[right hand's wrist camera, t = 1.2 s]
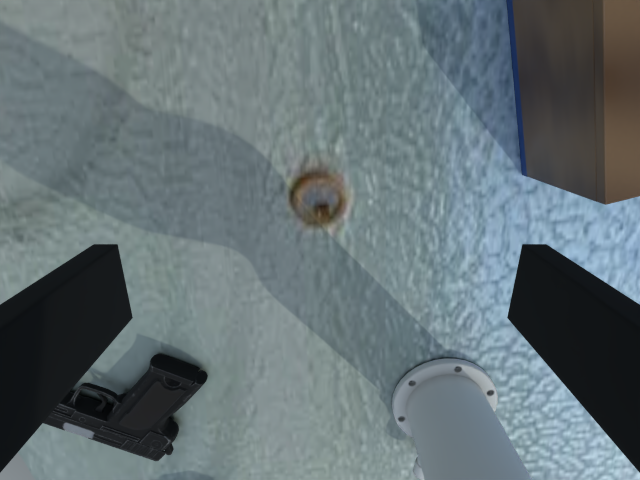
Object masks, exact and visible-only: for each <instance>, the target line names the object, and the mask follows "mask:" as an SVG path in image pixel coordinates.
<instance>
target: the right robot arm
mask: <svg viewBox="0 0 640 480" xmlns="http://www.w3.org/2000/svg"><path fill="white" fill-rule="evenodd" d="M132 318H133V317H132V313H131V308H130V303H129V298H128V293H127V288H126V283H125V279H124V274H123V269H122V264H121V259H120V254H119V250H118V245H117V244H94V245H92V246H91V247H89V248H88V249H86V250H84V251H83V252H81V253H80V254H78V255H77V256H75V257H74V258H72V259H70V260H69V261H67V262H66V263H64V264H63V265H61V266H60V267H58V268H57V269H55V270H53V271H52V272H50V273H49V274H47V275H46V276H44V277H43V278H41V279H39V280H38V281H36V282H35V283H33V284H32V285H30V286H29V287H27V288H26V289H24V290H22V291H21V292H19V293H18V294H16V295H15V296H13V297H12V298H10V299H8V300H7V301H5V302H4V303H2V304H1V305H0V472H1V471H2V470H3V469H4V468H5V466H6V465H7V464H8V463H9V462H10V461H11V459H12V458H13V457H14V456H15V455H16V454H17V452H18V451H19V450H20V449H21V448H22V447H23V445H24V444H25V443H26V442H27V441H28V439H29V438H30V437H31V436H32V435H33V434H34V432H35V431H36V430H37V429H38V428H39V427H40V425H41V424H42V423H43V422H44V421H45V420H46V418H47V417H48V416H49V415H50V414H51V413H52V411H53V410H54V409H55V408H56V407H57V406H58V404H59V403H60V402H61V401H62V400H63V399H64V397H65V396H66V395H67V394H68V393H69V392H70V390H71V389H72V388H73V387H74V386H75V385H76V383H77V382H78V381H79V380H80V379H81V377H82V376H83V375H84V374H85V373H86V372H87V370H88V369H89V368H90V367H91V366H92V365H93V363H94V362H95V361H96V360H97V359H98V358H99V356H100V355H101V354H102V353H103V352H104V351H105V349H106V348H107V347H108V346H109V345H110V344H111V342H112V341H113V340H114V339H115V338H116V337H117V335H118V334H119V333H120V332H121V331H122V330H123V328H124V327H125V326H126V325H127V324H128V323H129V321H130V320H131V319H132ZM507 318H508V319H509V320H510V321H511V323H512V324H513V325H514V326H515V327H516V328H517V330H518V331H519V332H520V333H521V334H522V335H523V337H524V338H525V339H526V340H527V341H528V342H529V344H530V345H531V346H532V347H533V348H534V349H535V351H536V352H537V353H538V354H539V355H540V356H541V358H542V359H543V360H544V361H545V362H546V363H547V365H548V366H549V367H550V368H551V369H552V370H553V372H554V373H555V374H556V375H557V376H558V377H559V379H560V380H561V381H562V382H563V383H564V385H565V386H566V387H567V388H568V389H569V390H570V392H571V393H572V394H573V395H574V396H575V397H576V399H577V400H578V401H579V402H580V403H581V404H582V406H583V407H584V408H585V409H586V410H587V411H588V413H589V414H590V415H591V416H592V417H593V418H594V420H595V421H596V422H597V423H598V424H599V425H600V427H601V428H602V429H603V430H604V431H605V432H606V434H607V435H608V436H609V437H610V438H611V439H612V441H613V442H614V443H615V444H616V445H617V447H618V448H619V449H620V450H621V451H622V452H623V454H624V455H625V456H626V457H627V458H628V459H629V461H630V462H631V463H632V464H633V465H634V466H635V468H636V469H637V470H638V471H639V472H640V305H639V304H638V303H636V302H635V301H633V300H632V299H630V298H628V297H627V296H625V295H624V294H622V293H621V292H619V291H618V290H616V289H614V288H613V287H611V286H610V285H608V284H607V283H605V282H604V281H602V280H601V279H599V278H597V277H596V276H594V275H593V274H591V273H590V272H588V271H587V270H585V269H583V268H582V267H580V266H579V265H577V264H576V263H574V262H573V261H571V260H570V259H568V258H566V257H565V256H563V255H562V254H560V253H559V252H557V251H556V250H554V249H552V248H551V247H549V246H548V245H546V244H523V245H522V250H521V254H520V259H519V264H518V269H517V274H516V279H515V283H514V288H513V293H512V298H511V303H510V308H509V313H508V317H507Z"/></svg>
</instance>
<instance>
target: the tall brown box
mask: <svg viewBox="0 0 640 480" xmlns="http://www.w3.org/2000/svg"><path fill="white" fill-rule="evenodd" d="M507 9H508V21H509V32H510V43H511V55H512V66H513V77H514V89H515V100H516V111H517V122H518V134H519V145H520V156H521V168H522V175H524V176H527V177H530V178H533V179H536V180H539V181H541V182H544V183H547V184H550V185H552V186H555V187H558V188H560V189H563V190H566V191H569V192H571V193H574V194H577V195H580V196H582V197H585V198H588V199H591V200H593V201H596V202H599V203H602V204H605V205H606V204H610V203H614V202H618V201H622V200H626V199H630V198H634V197H638V196H640V0H507Z"/></svg>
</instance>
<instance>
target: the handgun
mask: <svg viewBox="0 0 640 480" xmlns="http://www.w3.org/2000/svg"><path fill="white" fill-rule="evenodd" d="M199 369H200V368H197V367H195V366H192V365H189V364H187V363H184V362H181V361H179V360H176V359H174V358H171V357H168V356H166V355H163V354H157V355H154V356H153V358H152V359H151V361H150V367H149V370H148V371H147V372H146V374H145V375H144V376H143V377H142V378H141V379H140V380H139V381H138V382H137V383H136V385H135V386H134V387H133V388H132V389H131V390H130V391H129V392H128V393H123V394H120V395H117V394H116V393H114V392H112V391H110V390H108V389H106V388H103V387H100V386H97V385H94V384H91V383H83V384H82V385H81V386H80V387H79V388H78V389H77V391H76V392H75V393H72V392H69V393H68V394H67V395H66V396H65V397H64V399H63V400H62V401H61V402H60V403H59V404H58V406H57V407H56V408H55V409H54V410H53V411H52V413H51V414H50V415H49V416H48V417H47V418H46V420H45V421H44V422H43V423H44V424H47V425H50V426H53V427H56V428H59V429H62V430H66V431H69V432H72V433H75V434H78V435H81V436H84V437H87V438H89V439H92V440H95V441H98V442H101V443H104V444H107V445H109V446H112V447H115V448H118V449H121V450H124V451H127V452H130V453H133V454H136V455H139V456H142V457H145V458H148V459H151V460H154V461H159V460H160V459H161V458H162V457H163V456H164V455H165V454H167V455H171V454H172V451H173V446H172V442H173V441H174V440H175V438H176V436H177V434H178V431H179V427H178V424H177V423H176V422H175V421H174V420H172V419H170V418H168V417H170V416H171V415H172V414H173V413H175V412H176V411H177V410H178V409H179V408H181V407H182V406H183V405H184V404H185V403H186V402H187V401H188V400H189V399H190V398H191V397H192V396H193V395H194V394H195V393H196V392H197V391H198V390H199V389H200V387H201V386H202V385H203V384H204V383H205V382H206V380H207V377H208V375H207V373H206V372H205V371H203V370H201V371H199ZM198 371H199V372H198ZM82 389H87V390H90V391H93V392H96V393H98V395H99V396H100V397H101V400H102V402H100V401H97V400H94V399H91V398H89V397H87V398H86V397H83V396H80V395H79V393H80V391H81V390H82ZM106 396H107V397H109V398H111V399H112V400H113V401H114V406H111V405H108V404H107V401H108V400H107V398H106ZM163 450H165V451H163Z"/></svg>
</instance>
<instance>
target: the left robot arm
mask: <svg viewBox="0 0 640 480" xmlns="http://www.w3.org/2000/svg"><path fill="white" fill-rule="evenodd" d="M497 403H498V395H497V390H496V387H495V385H494V383H493V381H492V380H491V379H490V377H489V376H488V374H487V373H486V372H485V371H484V370H483V369H482V368H480V367H479V366H477V365H475V364H474V363H471V362H468V361H465V360H460V359H438V360H433V361H430V362H426V363H424V364H422V365H420V366H417V367H415V368H414V369H413V370H411V371H410V372H408V373H407V374H406V375H405V376H404V377H403V378H402V379H401V380H400V382H399V383H398V385H397V386H396V388H395V391H394V393H393V398H392V410H393V414H394V418H395V420H396V422H397V424H398V426H399V427H400V428H401V429H402V431H403V432H405V433H406V434H407V435H408V436H410V437H412V438H413V439H414V443H415V446H416V450H417V454H418V457H417V459H416V462H415V465H414V468H413V473H414V475H415V476H416V477H417V478H419V479H421V480H532V478H531V477H530V475H529V473H528V471H527V469H526V468H525V466H524V464H523V462H522V460H521V459H520V457H519V455H518V453H517V451H516V450H515V448H514V446H513V444H512V443H511V441H510V439H509V437H508V435H507V434H506V432H505V430H504V428H503V426H502V425H501V423H500V421H499V419H498V418H497V416H496V414H495V411H496V407H497Z"/></svg>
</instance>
